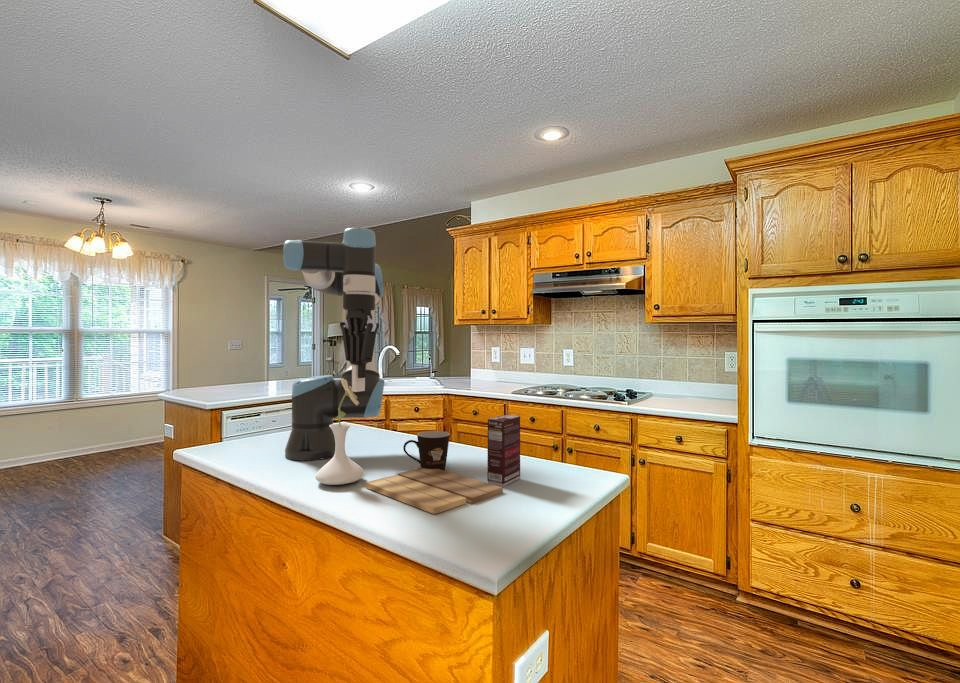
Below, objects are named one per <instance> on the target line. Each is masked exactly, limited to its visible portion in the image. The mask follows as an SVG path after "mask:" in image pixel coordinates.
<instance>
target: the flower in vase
mask: <svg viewBox="0 0 960 683" xmlns="http://www.w3.org/2000/svg"><path fill="white" fill-rule="evenodd" d="M340 380H341V383H342V385H343V387H344V389H345V395H344V396H343V398H342V400H341V403H340V405H339V408H338V410H339V411H338V416H337V417H336V419H335V420H338V422H337V423H333V424H331V425H329V427H330V428H331V429H332V431H333V433H334V437H335V454H334V456H333V457H331V459H330V460H329V461H327V462H326V463H325V464H324V465H323V466H322V467H321V468H319V470H318V471H317V472H316V473H315V477H314V478H315V480H316V481H317V482H318V483H321V484H324V485H328V486H329V485H330V486H335V485H336V486H337V485H338V486H339V485H340V486H341V485H346V484H352V483H355V482H357V481H359V480H361V479H362V478H363V477H364V476H365V471H364V469H363V468H362V467H361V466H360V465H359V464H358V463H356V462H355V461H354V460H352V459H350V458H349V456H348V455H347V453H346V437H347V433H348V430H349V428H350V427H351V425H352V424H350V423H347V422H346V423H345V422H342V423H341V419H343V418H342V417H344V416H345V415H346V414H345V413H344V412H343V411H342V412H341V410H340V407H341V404H342V402H343V400H344V398H345V396H349V397H350V399H351V400H352V401H353V402H354V404H356V405H358V404H359V402H358V401H357V396H356V395H355V394H353V392H352V388H351V386H349V387H348V384H347V381H346V379H345V380H344V378H342V379H341V378H340Z"/></svg>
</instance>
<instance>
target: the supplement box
mask: <svg viewBox="0 0 960 683" xmlns="http://www.w3.org/2000/svg"><path fill="white" fill-rule="evenodd" d="M486 477H487V482H486V483H489V484H493V485H496V486H500V487H503V488H505V487H506V486H508V485H510V484H512V483H514V482H516V481H518V480H520V479H521V416H520V415H515V414H513V415H512V414H503V415H499V416H495V417H491V418H487V476H486Z"/></svg>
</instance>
